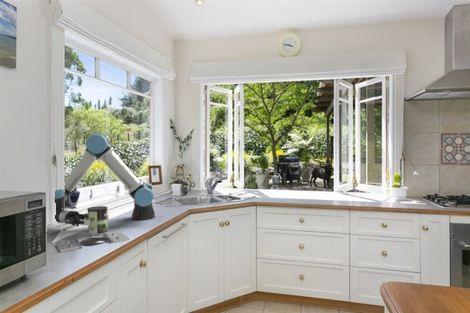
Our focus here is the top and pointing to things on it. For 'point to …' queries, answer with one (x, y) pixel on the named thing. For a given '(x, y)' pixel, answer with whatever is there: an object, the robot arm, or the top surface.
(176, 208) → the top surface
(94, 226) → the coffee can
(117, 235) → the hinge leaves
